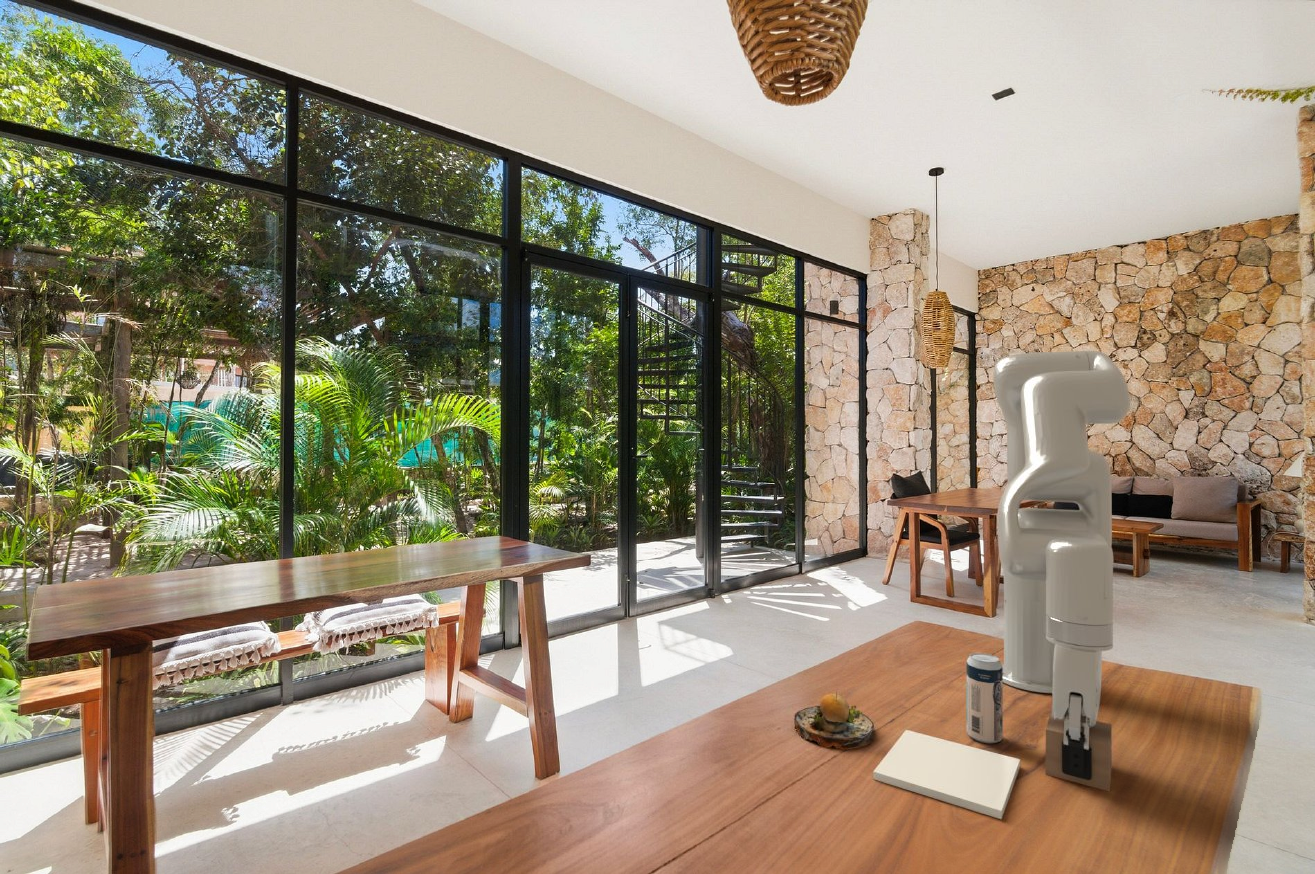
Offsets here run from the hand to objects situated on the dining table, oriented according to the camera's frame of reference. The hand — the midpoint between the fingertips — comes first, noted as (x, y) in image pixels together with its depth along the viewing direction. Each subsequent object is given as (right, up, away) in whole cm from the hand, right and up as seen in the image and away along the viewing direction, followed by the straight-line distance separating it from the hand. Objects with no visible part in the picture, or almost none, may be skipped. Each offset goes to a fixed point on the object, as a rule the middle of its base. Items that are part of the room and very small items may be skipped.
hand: (1078, 762), depth 87 cm
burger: (-30, -2, +12) cm, 32 cm away
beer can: (-8, -1, +10) cm, 12 cm away
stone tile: (-18, -1, 0) cm, 18 cm away
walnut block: (0, -1, 0) cm, 1 cm away
